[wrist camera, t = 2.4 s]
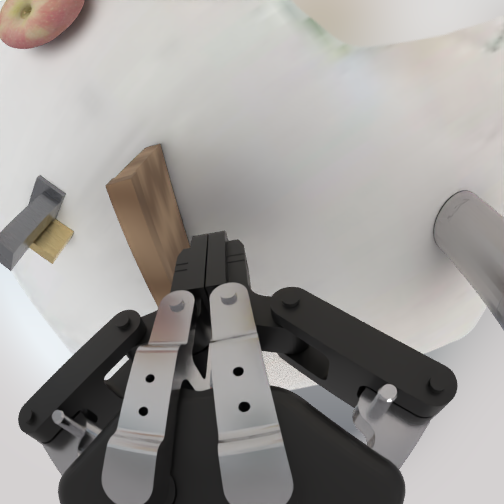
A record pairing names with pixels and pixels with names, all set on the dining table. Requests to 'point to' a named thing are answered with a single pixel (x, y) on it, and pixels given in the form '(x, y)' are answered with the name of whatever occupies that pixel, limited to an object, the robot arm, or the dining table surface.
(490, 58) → the dining table surface
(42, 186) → the toy blocks
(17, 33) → the apple
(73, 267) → the dining table surface
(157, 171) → the gate
